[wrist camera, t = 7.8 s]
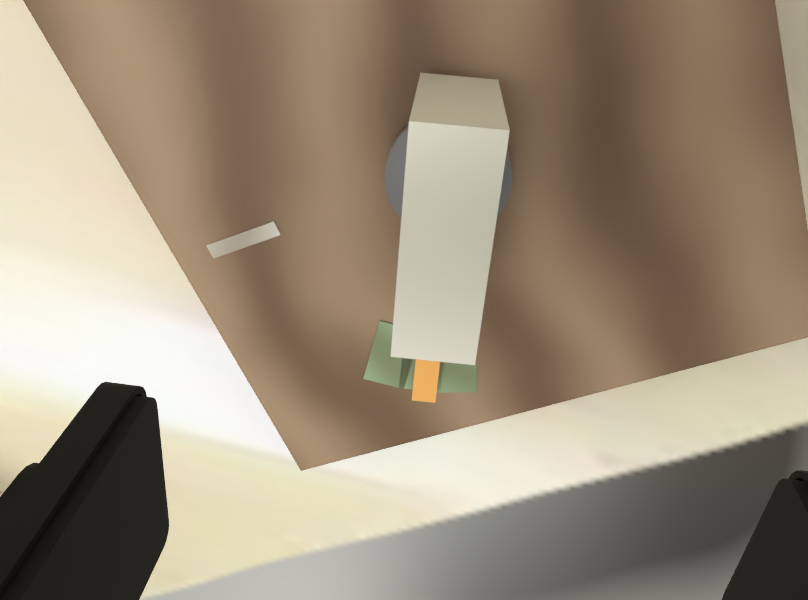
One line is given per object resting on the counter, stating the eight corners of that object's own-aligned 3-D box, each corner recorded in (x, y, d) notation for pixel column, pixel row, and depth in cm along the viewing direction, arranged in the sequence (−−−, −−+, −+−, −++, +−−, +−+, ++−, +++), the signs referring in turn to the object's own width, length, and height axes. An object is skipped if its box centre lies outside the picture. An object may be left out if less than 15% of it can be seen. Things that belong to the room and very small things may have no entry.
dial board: (701, -371, 20) (719, -392, 18) (805, 314, 29) (823, 334, 28) (28, -35, 25) (2, -32, 23) (306, 449, 35) (300, 472, 33)
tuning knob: (394, 62, 24) (370, 117, 18) (524, 74, 24) (548, 133, 17) (372, 388, 30) (350, 513, 24) (475, 399, 30) (479, 527, 24)
